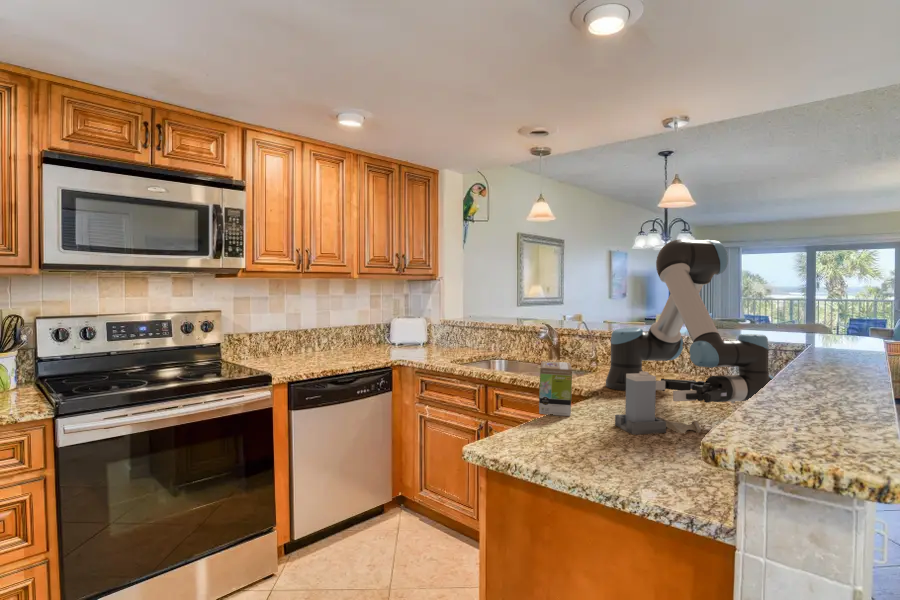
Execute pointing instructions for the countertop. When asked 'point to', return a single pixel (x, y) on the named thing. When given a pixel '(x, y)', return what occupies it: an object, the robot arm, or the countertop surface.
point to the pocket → (640, 425)
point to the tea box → (555, 388)
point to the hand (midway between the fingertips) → (658, 390)
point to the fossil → (681, 426)
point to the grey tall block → (640, 397)
